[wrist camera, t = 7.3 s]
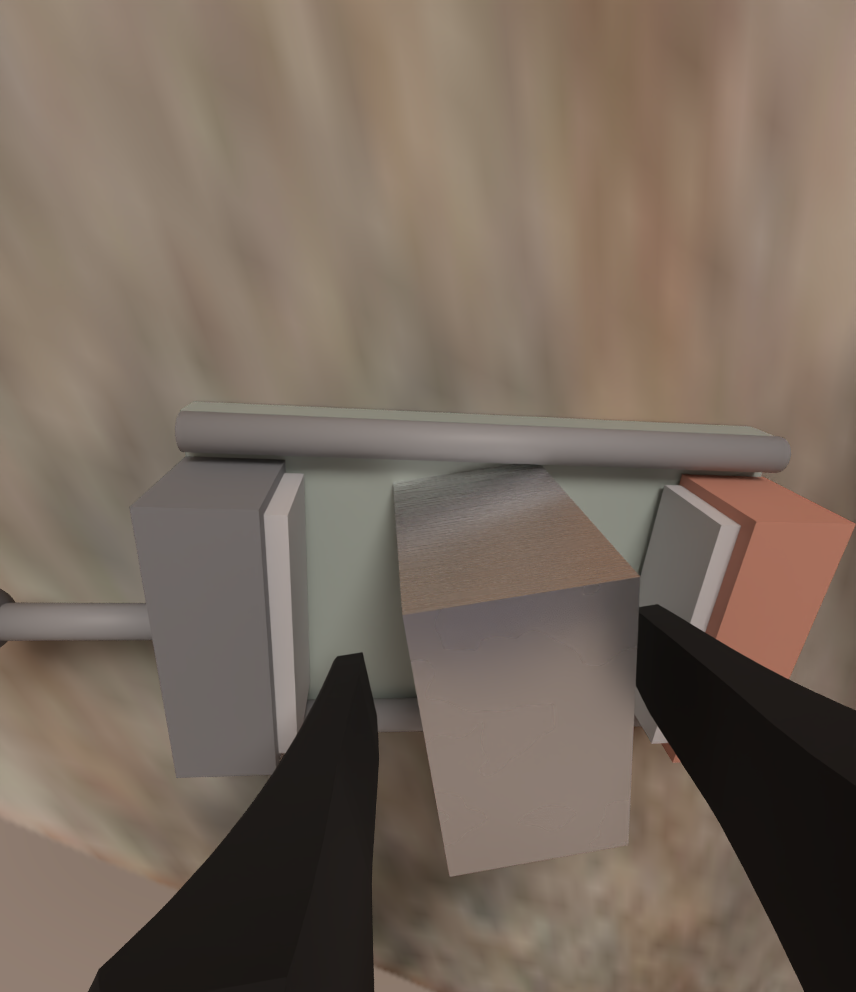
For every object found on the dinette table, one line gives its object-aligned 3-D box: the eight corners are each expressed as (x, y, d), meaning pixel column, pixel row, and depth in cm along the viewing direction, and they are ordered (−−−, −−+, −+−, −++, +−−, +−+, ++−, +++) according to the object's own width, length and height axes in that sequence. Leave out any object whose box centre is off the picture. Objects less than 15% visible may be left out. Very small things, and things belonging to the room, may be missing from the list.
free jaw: (763, 476, 15) (855, 523, 12) (693, 682, 18) (753, 760, 15) (665, 473, 14) (736, 521, 12) (610, 683, 17) (656, 762, 14)
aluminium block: (537, 460, 14) (640, 576, 8) (546, 659, 17) (628, 844, 11) (393, 482, 14) (402, 615, 8) (426, 679, 17) (449, 876, 11)
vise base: (751, 423, 15) (878, 471, 11) (667, 688, 19) (740, 791, 15) (-42, 386, 13) (-223, 432, 9) (47, 697, 17) (-53, 821, 13)
